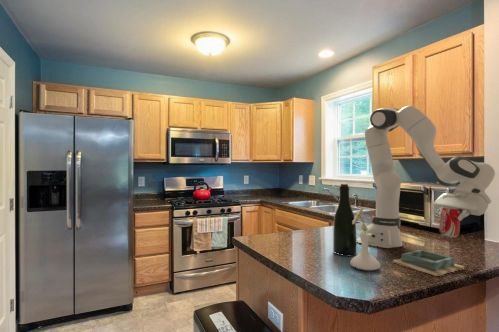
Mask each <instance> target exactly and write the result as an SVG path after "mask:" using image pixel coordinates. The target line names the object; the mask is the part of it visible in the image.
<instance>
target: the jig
mask: <svg viewBox="0 0 499 332" xmlns="http://www.w3.org/2000/svg"><path fill="white" fill-rule="evenodd" d="M393 262H395V263H398V264H401V265H404V266H406V267H405V268H407V267H410V268H413V269H416V270H419V271H422V272H426V273H429V274H432V275H435V276H439V275H443V274H446V273H450V272H453V273H455V272H454V271H457V272H459V271H458V270H460V271H463V270H465V266H464V265H460V264H456V263H455V257H451V256H447V255H444V254H440V253H436V252H432V251H429V250H424V249H418V250H413V251H409V252H404V253H403V252H402V253H401V257H400V258H397V259H392V263H393ZM398 264H397V265H398ZM401 265H400V266H401ZM404 266H403V267H404ZM410 268H409V269H410ZM413 269H412V270H413ZM462 269H463V270H462ZM416 270H415V271H416ZM419 271H418V272H419ZM422 272H421V273H422ZM450 274H451V273H450ZM443 276H444V275H443Z"/></svg>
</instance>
